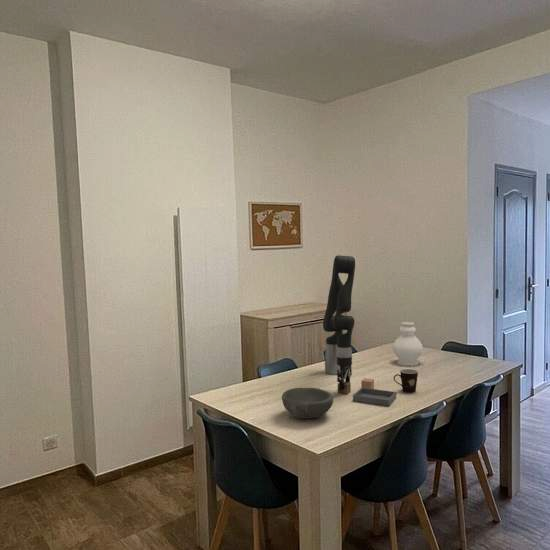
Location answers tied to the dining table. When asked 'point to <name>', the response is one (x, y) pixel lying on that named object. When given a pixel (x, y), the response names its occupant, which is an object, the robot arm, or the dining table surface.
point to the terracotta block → (367, 383)
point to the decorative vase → (407, 345)
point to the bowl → (307, 402)
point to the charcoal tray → (374, 396)
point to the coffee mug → (408, 380)
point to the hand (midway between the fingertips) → (344, 387)
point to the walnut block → (345, 388)
